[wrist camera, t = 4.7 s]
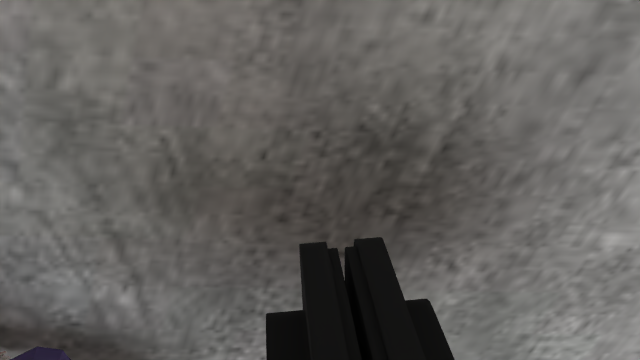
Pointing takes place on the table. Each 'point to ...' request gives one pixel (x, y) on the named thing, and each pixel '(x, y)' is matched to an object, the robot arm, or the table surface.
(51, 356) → the figurine
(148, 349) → the table surface
